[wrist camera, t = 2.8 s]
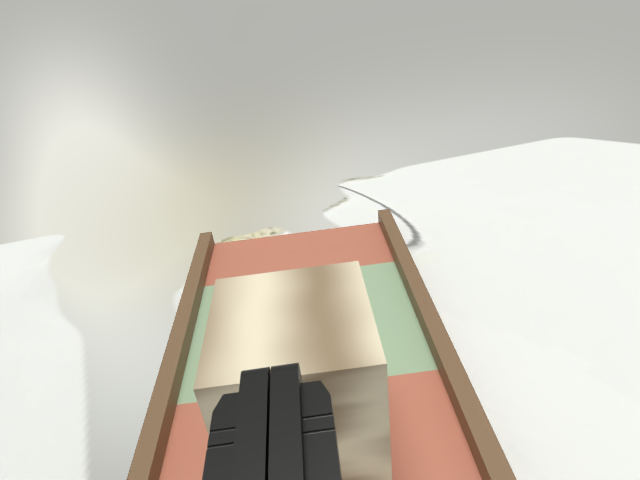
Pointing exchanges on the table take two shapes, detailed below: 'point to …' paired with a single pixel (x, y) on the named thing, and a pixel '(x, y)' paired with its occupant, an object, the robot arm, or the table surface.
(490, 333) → the table surface
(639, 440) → the table surface
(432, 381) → the tray
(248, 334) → the block
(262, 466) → the robot arm
